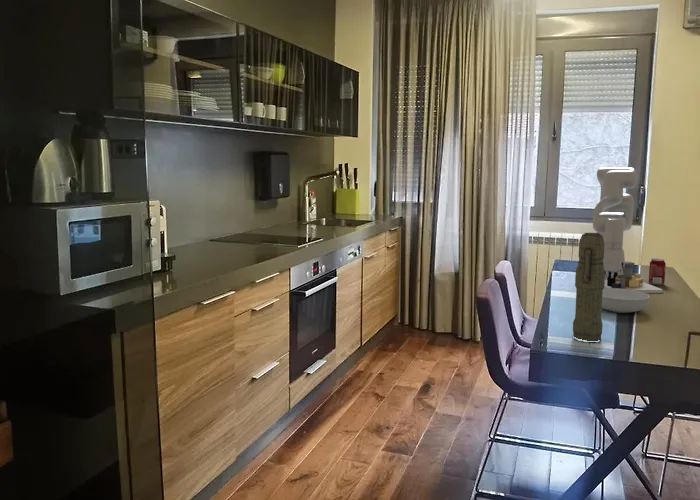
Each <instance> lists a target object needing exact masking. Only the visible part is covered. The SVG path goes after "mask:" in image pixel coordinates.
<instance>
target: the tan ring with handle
mask: <svg viewBox="0 0 700 500" xmlns="http://www.w3.org/2000/svg"><path fill="white" fill-rule="evenodd" d="M643 282H644V278H643V277H642V275H641V273H634V274H633V275H632V276H630V278H629V279H625V287H627V286H628V287H639V286H642V285H643ZM612 288H620V275H618V276H617V277H616V278H615V283H612Z"/></svg>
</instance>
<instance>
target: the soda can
mask: <svg viewBox="0 0 700 500" xmlns="http://www.w3.org/2000/svg"><path fill="white" fill-rule="evenodd" d="M666 264H667V263H666V262H665V259H664V258H651V261H650V262H649V270H648V284H650V285H652V284H654V285H653V286H663V285H665V281H666V266H667V265H666Z"/></svg>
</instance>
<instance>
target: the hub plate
mask: <svg viewBox="0 0 700 500" xmlns="http://www.w3.org/2000/svg"><path fill="white" fill-rule="evenodd" d="M633 267H635V262H632V261H625V266H624V271H623V275H620V288H619V289H629V290H635V291H640V292H643V293H646V294H663V292H664V289H662V288H659V287H657V286H656V285H652V284H650V283H647V282H645V281H643V285H642V286H639V287H628V286H627V287H625V279H629V278H630V276H633V269H634V268H633ZM604 288H612V287H610V286H607V279H605V284H604Z"/></svg>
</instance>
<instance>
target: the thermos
mask: <svg viewBox="0 0 700 500" xmlns="http://www.w3.org/2000/svg"><path fill="white" fill-rule="evenodd" d="M604 245H605V243H604V239H603V236H602V235H600V234H599V233H597V232H584V233H582V235H581V236H580V240H579V242H578V255H577V256H578V261H577V262H578V263H577V266H576V269H575V277H574V278H575V281H574V282H575V283H574V287H575V288H576V289H575V290H576V292H575V293H576V294H575V311H574V312H575V314H574V319H573V321H572V332H573V333H572V334H573V336H574V337H576V338H578V339H582V340H587V341H598V340H601V341H602V334H603V320H602V310H603V308H602V291H603V289H604V284H605V280H606V279H605V278H606V274H605V269H604V266H603V264H604V263H603V258H604ZM573 336H572V337H573Z"/></svg>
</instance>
